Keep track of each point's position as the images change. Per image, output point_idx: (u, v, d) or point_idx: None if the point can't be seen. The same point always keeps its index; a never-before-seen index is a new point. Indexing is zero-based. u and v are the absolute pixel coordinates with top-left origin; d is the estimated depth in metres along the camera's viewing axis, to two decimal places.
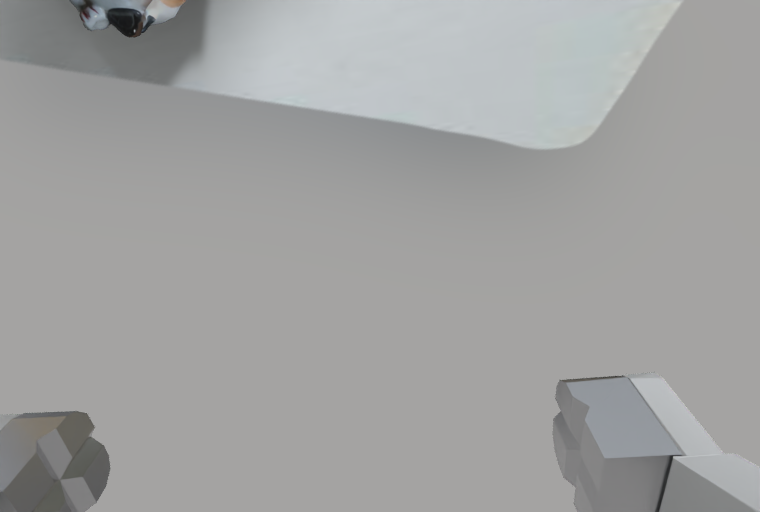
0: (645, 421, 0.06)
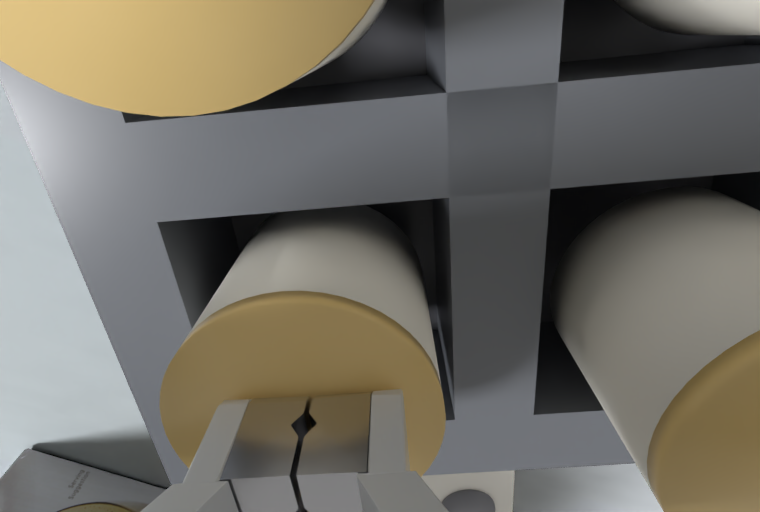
0: (356, 438, 0.06)
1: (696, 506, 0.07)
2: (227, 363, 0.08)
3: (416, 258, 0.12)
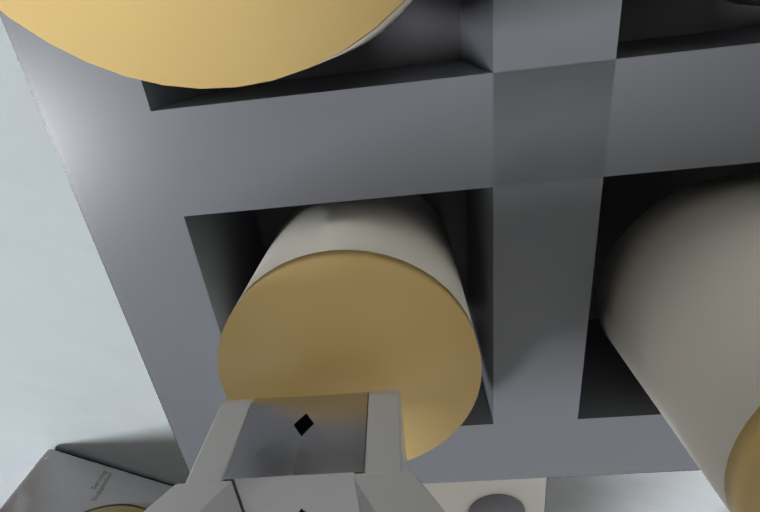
0: (352, 439, 0.06)
1: None
2: (281, 317, 0.08)
3: (446, 232, 0.12)
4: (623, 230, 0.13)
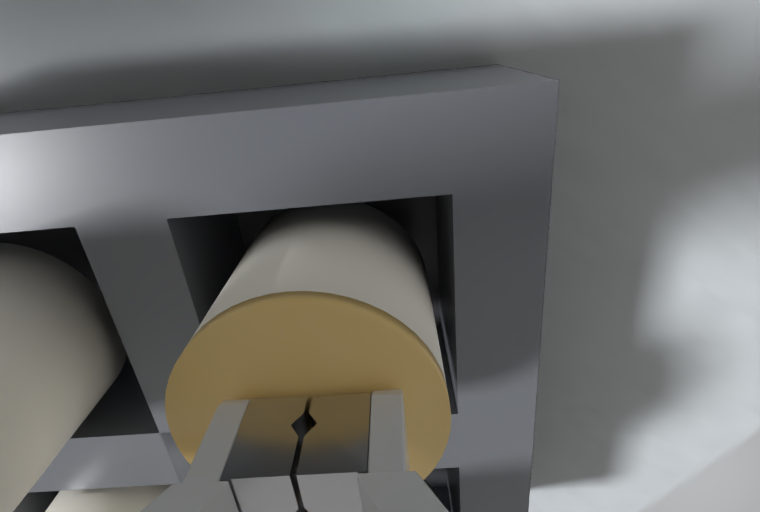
0: (355, 438, 0.06)
1: None
2: None
3: None
4: None
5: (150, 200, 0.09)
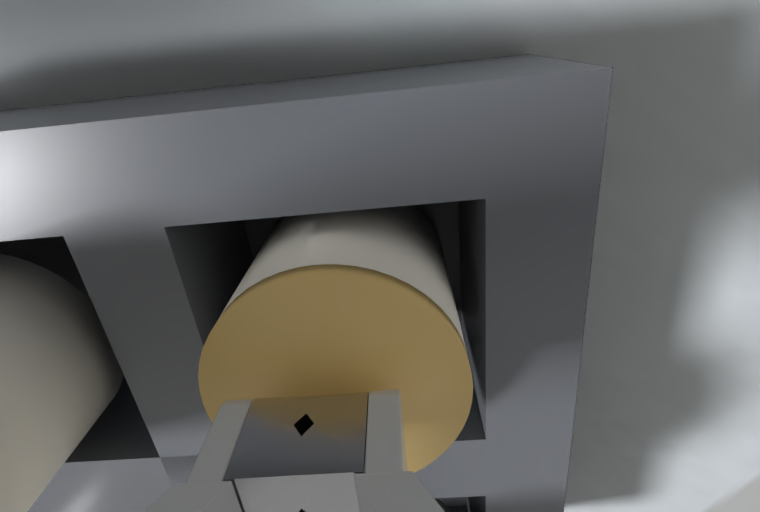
0: (352, 439, 0.06)
1: None
2: None
3: None
4: None
5: (146, 206, 0.08)
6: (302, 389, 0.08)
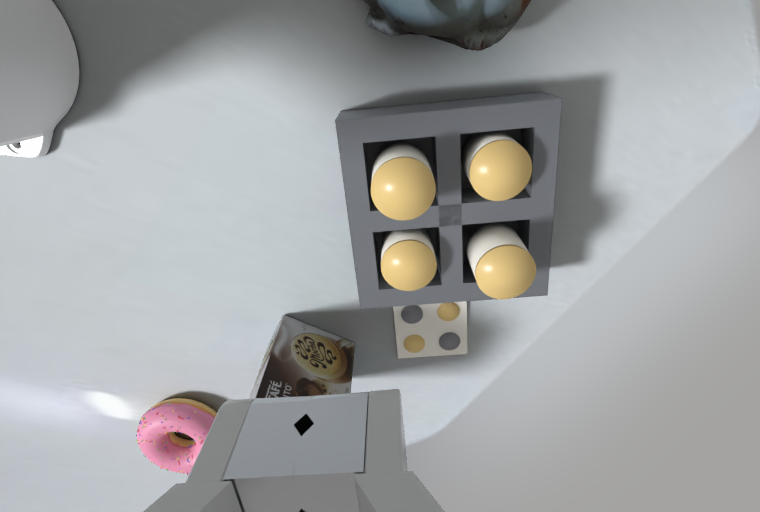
0: (352, 438, 0.06)
1: (483, 284, 0.39)
2: (396, 253, 0.40)
3: (430, 235, 0.45)
4: None
5: (457, 128, 0.37)
6: (493, 169, 0.37)
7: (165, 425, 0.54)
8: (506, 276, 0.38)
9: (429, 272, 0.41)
